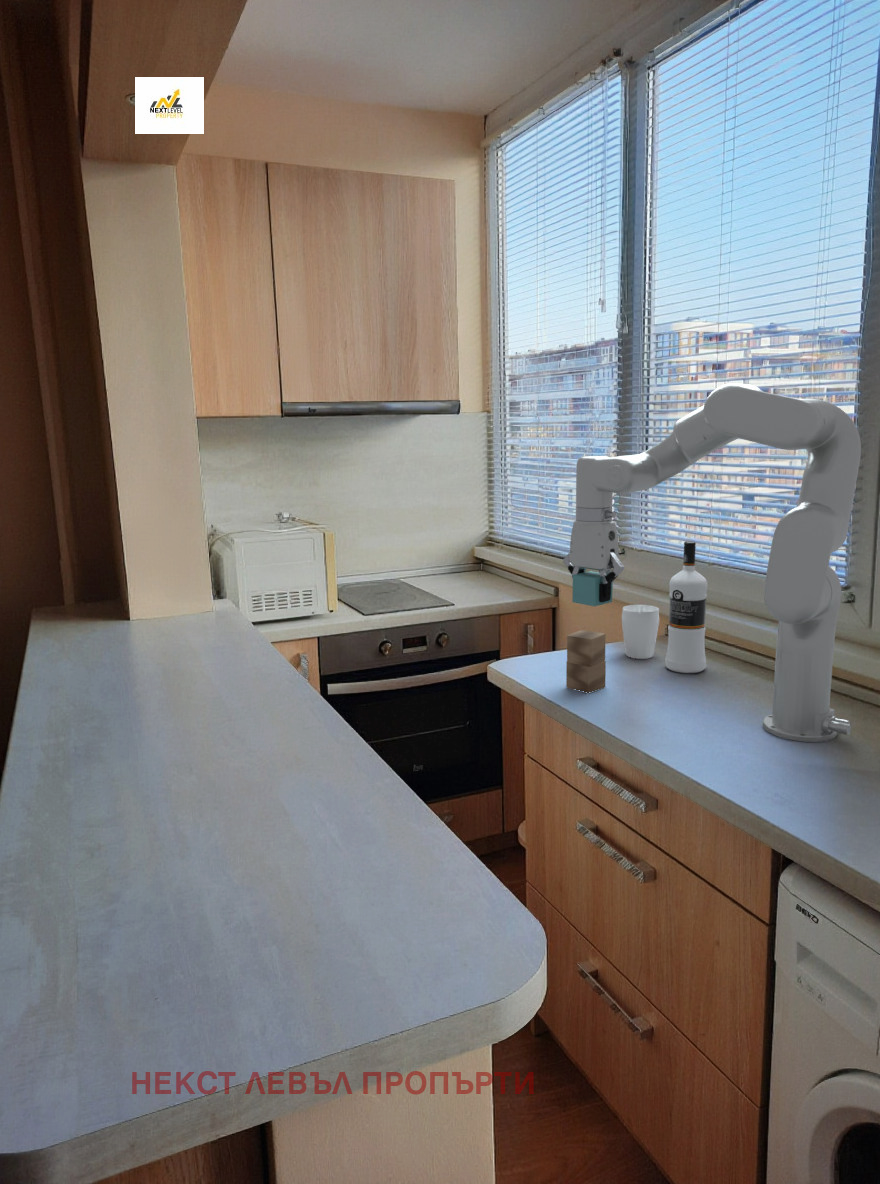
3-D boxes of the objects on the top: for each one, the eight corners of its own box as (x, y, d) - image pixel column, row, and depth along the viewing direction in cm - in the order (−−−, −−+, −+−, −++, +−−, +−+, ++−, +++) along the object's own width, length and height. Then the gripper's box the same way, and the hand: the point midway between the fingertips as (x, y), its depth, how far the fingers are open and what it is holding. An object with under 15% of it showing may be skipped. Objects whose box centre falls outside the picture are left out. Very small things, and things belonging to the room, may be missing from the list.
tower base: (605, 687, 178) (605, 661, 177) (588, 693, 174) (588, 666, 173) (583, 681, 183) (583, 655, 181) (566, 687, 179) (566, 661, 178)
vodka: (714, 670, 188) (720, 541, 182) (685, 676, 184) (689, 545, 178) (685, 660, 196) (689, 537, 190) (656, 666, 192) (659, 540, 186)
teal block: (612, 602, 175) (612, 574, 173) (594, 606, 171) (595, 578, 169) (589, 597, 179) (590, 571, 178) (572, 602, 175) (572, 574, 174)
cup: (662, 660, 197) (663, 612, 195) (624, 660, 197) (625, 612, 195) (653, 650, 206) (654, 604, 204) (617, 650, 206) (618, 604, 204)
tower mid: (605, 660, 178) (605, 633, 176) (591, 666, 173) (591, 639, 172) (581, 656, 181) (581, 629, 180) (567, 662, 177) (567, 635, 176)
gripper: (638, 516, 167) (636, 602, 171) (573, 511, 180) (572, 590, 183) (616, 520, 162) (614, 608, 166) (550, 513, 175) (550, 595, 179)
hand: (592, 598), depth 175 cm, fingers closed on teal block, 6 cm apart
